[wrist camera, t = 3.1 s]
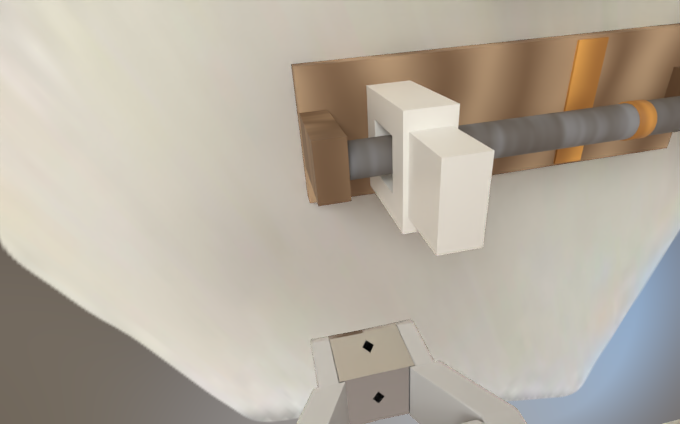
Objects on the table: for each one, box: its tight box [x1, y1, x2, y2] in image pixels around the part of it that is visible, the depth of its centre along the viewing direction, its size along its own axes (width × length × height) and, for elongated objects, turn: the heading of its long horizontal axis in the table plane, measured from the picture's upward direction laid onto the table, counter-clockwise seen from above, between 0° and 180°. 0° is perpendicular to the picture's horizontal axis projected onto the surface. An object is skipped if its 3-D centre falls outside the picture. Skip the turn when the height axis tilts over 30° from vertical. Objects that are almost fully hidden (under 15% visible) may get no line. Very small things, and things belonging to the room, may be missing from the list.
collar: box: [366, 80, 495, 256], centre depth 23 cm, size 3×7×11 cm, turn 4°
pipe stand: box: [291, 23, 680, 206], centre depth 28 cm, size 32×10×8 cm, turn 94°
